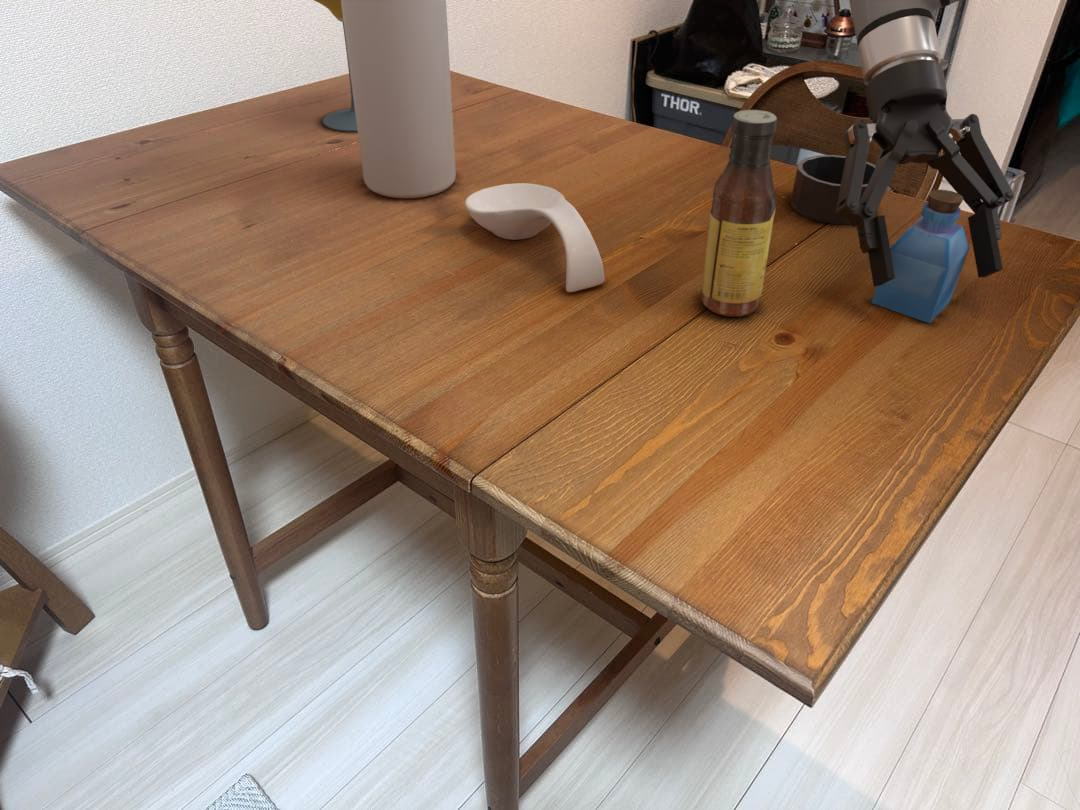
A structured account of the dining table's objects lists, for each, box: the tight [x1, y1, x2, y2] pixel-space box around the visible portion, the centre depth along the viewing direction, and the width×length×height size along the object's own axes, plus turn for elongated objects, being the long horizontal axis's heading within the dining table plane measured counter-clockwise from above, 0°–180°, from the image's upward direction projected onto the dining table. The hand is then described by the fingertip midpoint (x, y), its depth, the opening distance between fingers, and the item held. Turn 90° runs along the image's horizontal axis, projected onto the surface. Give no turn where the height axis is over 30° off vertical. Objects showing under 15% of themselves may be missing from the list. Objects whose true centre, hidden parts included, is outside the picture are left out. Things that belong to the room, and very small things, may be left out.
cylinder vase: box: [341, 0, 457, 199], centre depth 104 cm, size 12×12×25 cm
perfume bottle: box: [871, 189, 970, 324], centre depth 84 cm, size 6×6×12 cm
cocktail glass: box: [313, 0, 358, 133], centre depth 124 cm, size 18×18×25 cm
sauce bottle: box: [700, 109, 778, 318], centre depth 81 cm, size 6×6×20 cm
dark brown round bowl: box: [789, 154, 875, 226], centre depth 105 cm, size 11×11×5 cm
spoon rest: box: [464, 182, 605, 293], centre depth 94 cm, size 24×12×7 cm, turn 29°
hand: (937, 278), depth 83 cm, fingers open, 11 cm apart
